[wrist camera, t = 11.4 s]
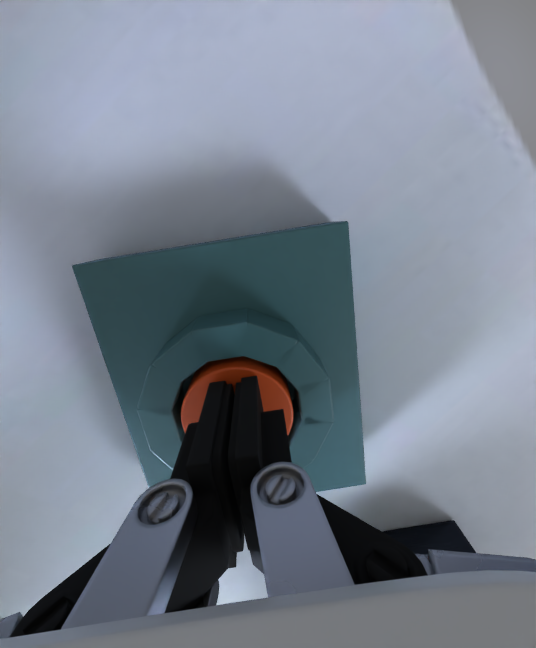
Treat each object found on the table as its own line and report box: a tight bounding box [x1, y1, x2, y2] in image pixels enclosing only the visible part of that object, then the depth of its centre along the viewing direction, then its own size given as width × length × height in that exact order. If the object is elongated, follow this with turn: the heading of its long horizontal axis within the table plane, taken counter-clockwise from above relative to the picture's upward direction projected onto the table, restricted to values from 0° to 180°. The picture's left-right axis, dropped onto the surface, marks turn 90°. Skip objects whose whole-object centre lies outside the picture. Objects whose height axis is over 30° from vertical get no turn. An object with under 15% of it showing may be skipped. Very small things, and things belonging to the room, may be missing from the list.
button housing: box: [72, 221, 366, 492], centre depth 13 cm, size 12×10×4 cm
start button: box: [181, 356, 293, 435], centre depth 12 cm, size 4×4×2 cm
